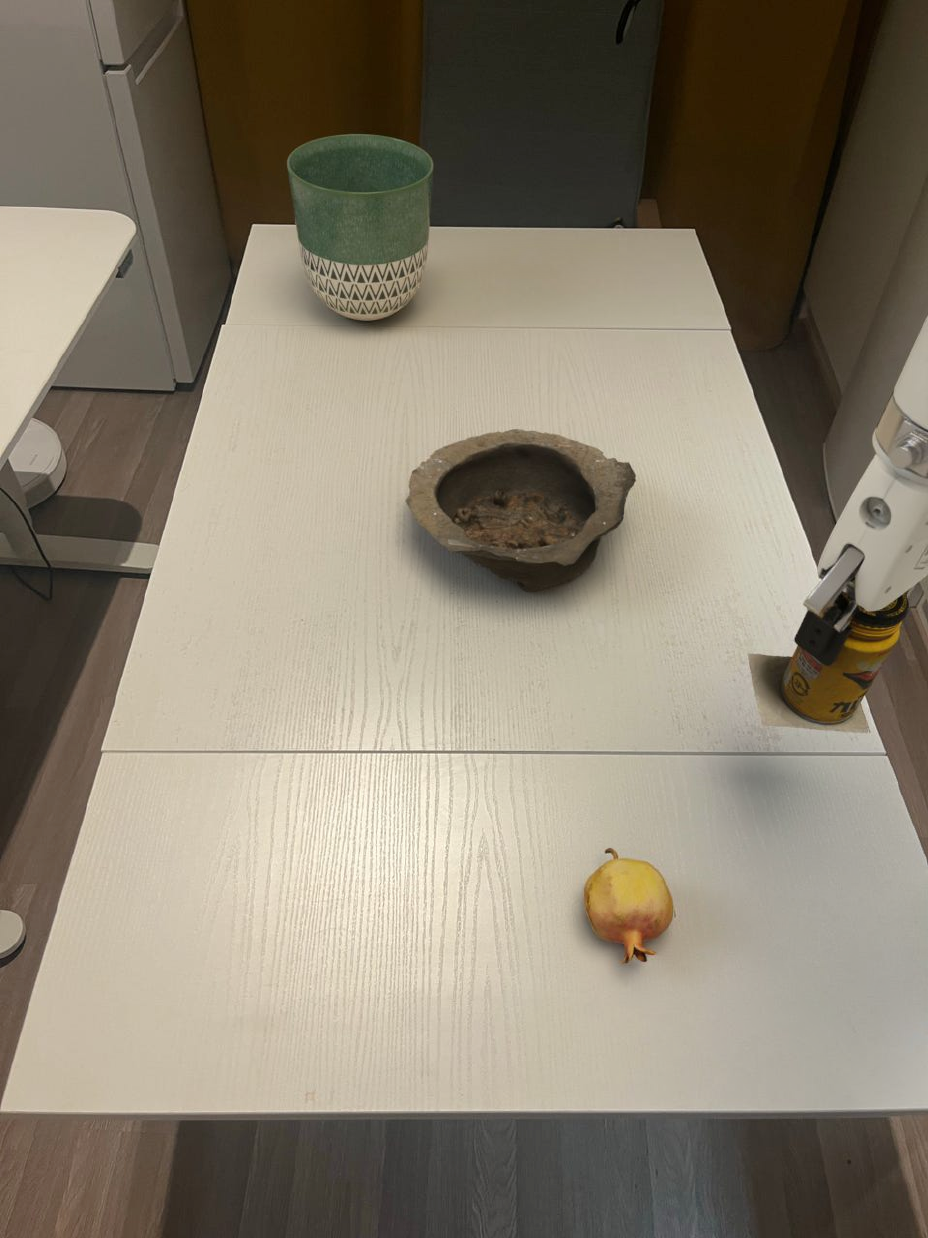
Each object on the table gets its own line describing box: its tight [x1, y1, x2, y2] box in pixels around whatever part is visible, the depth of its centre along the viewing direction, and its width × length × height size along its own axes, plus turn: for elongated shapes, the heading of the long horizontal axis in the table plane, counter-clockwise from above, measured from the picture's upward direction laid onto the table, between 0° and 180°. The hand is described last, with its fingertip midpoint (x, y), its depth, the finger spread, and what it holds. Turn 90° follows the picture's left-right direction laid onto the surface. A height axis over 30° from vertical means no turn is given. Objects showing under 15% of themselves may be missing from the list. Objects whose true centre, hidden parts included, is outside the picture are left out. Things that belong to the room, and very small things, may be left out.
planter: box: [286, 133, 435, 322], centre depth 127 cm, size 20×20×21 cm
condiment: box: [747, 577, 910, 734], centre depth 68 cm, size 7×8×12 cm
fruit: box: [583, 847, 674, 965], centre depth 70 cm, size 7×7×10 cm
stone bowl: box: [405, 428, 637, 592], centre depth 100 cm, size 25×25×9 cm
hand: (841, 630), depth 67 cm, fingers closed on condiment, 6 cm apart
